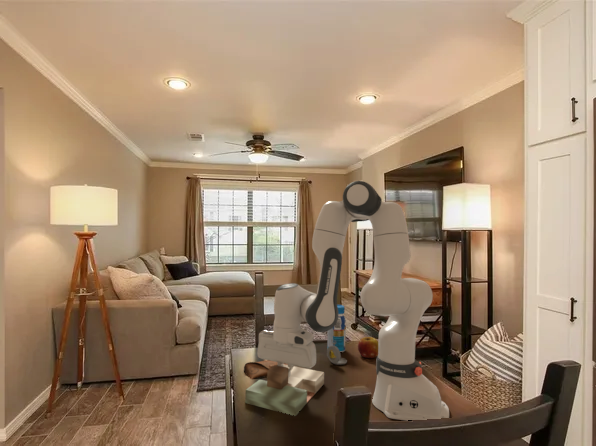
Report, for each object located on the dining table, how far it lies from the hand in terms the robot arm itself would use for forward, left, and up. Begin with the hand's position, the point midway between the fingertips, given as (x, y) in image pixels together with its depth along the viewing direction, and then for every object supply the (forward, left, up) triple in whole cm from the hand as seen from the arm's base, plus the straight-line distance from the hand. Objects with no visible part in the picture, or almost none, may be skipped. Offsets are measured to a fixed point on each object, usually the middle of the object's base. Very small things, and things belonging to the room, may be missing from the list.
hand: (285, 376), depth 113 cm
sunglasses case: (+13, -13, -6) cm, 20 cm away
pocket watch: (-7, -34, -6) cm, 35 cm away
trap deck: (0, -1, -6) cm, 6 cm away
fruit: (-17, -48, -6) cm, 51 cm away
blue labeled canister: (-2, -48, -6) cm, 49 cm away
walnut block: (+1, +3, -2) cm, 4 cm away
